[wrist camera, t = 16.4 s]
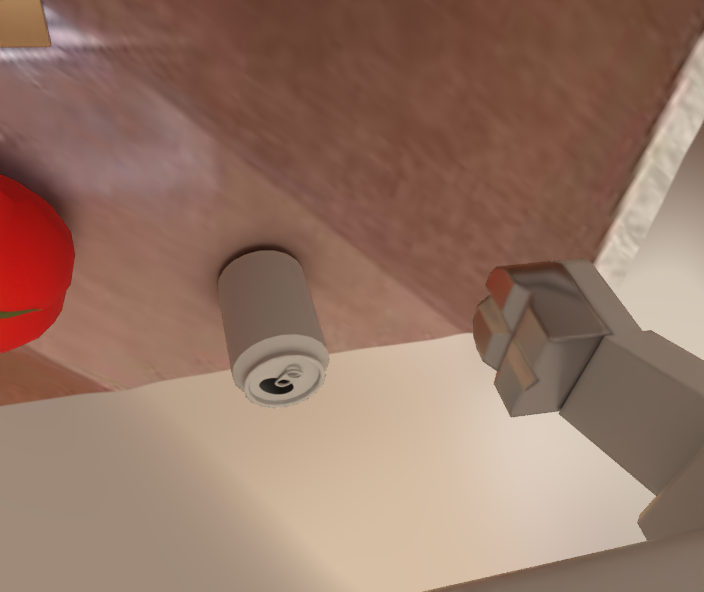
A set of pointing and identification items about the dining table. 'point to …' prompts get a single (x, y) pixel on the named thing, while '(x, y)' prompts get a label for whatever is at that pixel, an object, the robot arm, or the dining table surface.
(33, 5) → the cork mat
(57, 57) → the dining table surface
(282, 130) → the dining table surface
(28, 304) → the tomato
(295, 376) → the can
